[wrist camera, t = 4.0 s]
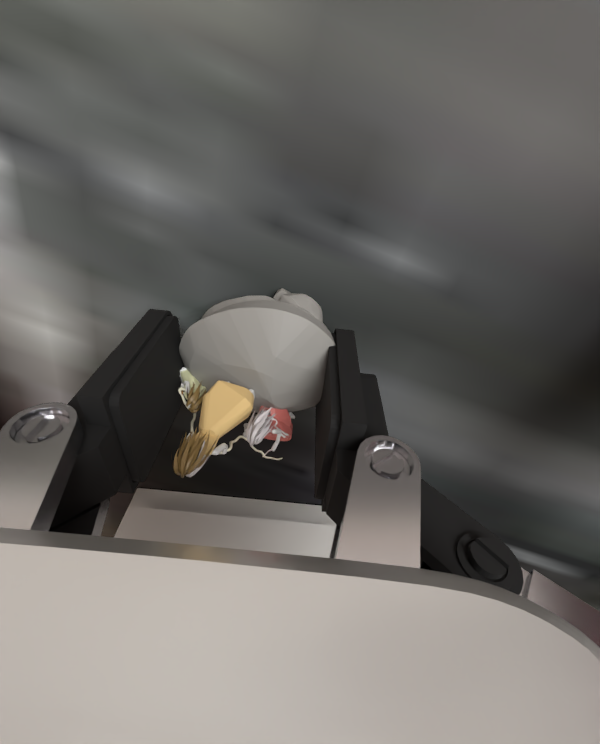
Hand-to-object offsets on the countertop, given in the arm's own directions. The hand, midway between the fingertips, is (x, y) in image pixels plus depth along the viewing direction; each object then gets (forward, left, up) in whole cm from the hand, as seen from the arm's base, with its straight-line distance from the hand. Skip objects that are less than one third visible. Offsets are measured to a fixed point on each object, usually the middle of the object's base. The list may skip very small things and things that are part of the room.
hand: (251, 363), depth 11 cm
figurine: (0, 0, -1) cm, 1 cm away
